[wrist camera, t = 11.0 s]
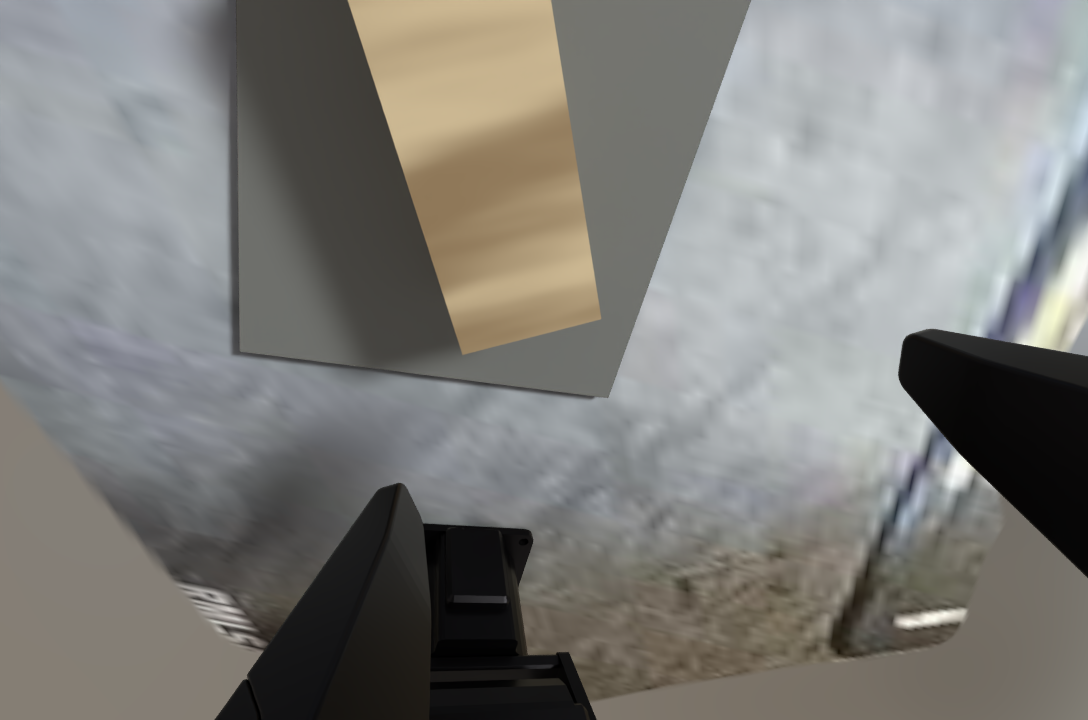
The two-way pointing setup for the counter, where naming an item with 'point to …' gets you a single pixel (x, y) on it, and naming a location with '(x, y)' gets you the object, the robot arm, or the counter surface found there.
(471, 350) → the block
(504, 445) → the counter surface
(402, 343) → the mat
